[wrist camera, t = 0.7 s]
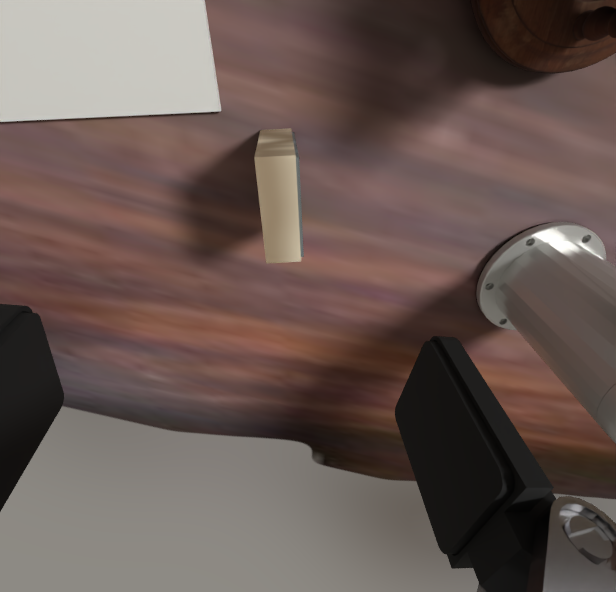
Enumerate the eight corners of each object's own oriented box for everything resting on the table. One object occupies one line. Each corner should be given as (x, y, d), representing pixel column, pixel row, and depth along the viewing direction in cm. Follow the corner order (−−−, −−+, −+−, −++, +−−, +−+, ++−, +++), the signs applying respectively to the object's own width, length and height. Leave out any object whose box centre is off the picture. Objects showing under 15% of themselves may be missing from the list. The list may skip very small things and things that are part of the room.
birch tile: (293, 128, 28) (299, 155, 21) (297, 213, 32) (303, 260, 25) (260, 130, 28) (254, 157, 21) (269, 215, 32) (266, 263, 25)
